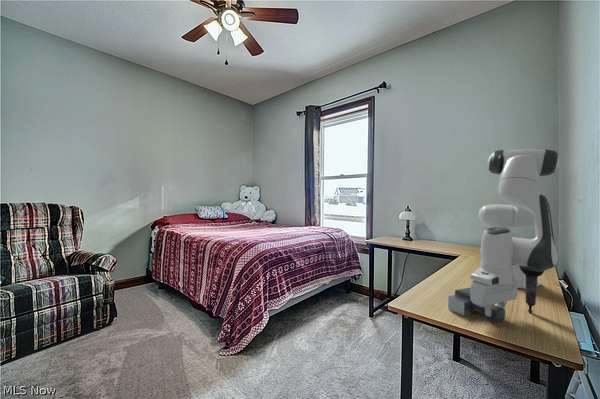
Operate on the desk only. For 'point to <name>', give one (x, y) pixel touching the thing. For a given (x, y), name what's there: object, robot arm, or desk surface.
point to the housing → (461, 302)
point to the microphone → (531, 284)
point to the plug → (497, 313)
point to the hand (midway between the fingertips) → (494, 314)
